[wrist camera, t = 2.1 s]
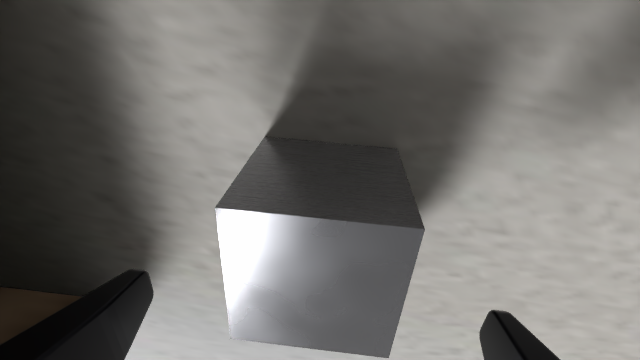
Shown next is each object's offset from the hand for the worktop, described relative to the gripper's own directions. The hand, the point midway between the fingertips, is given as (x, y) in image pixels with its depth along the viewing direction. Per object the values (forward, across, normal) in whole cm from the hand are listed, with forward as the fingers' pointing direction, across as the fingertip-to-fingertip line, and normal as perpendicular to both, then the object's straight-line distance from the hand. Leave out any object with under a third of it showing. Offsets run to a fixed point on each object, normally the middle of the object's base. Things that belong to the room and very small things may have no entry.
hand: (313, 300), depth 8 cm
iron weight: (+5, 0, 0) cm, 5 cm away
